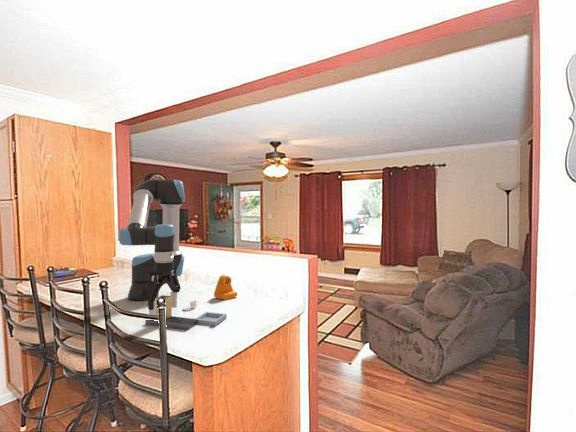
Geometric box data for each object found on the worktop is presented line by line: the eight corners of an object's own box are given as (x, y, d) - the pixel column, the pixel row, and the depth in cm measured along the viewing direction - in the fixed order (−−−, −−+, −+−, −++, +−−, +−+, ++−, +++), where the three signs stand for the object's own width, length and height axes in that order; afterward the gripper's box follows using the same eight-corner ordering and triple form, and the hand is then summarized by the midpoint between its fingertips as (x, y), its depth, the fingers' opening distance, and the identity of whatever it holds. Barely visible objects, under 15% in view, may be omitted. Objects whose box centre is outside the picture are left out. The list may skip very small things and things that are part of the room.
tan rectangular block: (155, 324, 125) (155, 297, 125) (162, 320, 129) (162, 295, 129) (164, 325, 124) (164, 298, 124) (171, 322, 128) (171, 295, 128)
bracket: (220, 301, 161) (220, 278, 161) (214, 297, 166) (214, 276, 166) (237, 297, 168) (238, 276, 168) (231, 294, 174) (231, 273, 173)
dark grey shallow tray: (145, 325, 125) (145, 319, 125) (156, 319, 131) (156, 314, 131) (188, 331, 120) (188, 324, 120) (197, 324, 126) (197, 318, 126)
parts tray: (194, 323, 127) (194, 319, 127) (206, 316, 137) (206, 311, 137) (215, 326, 125) (215, 321, 125) (226, 318, 134) (226, 314, 134)
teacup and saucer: (183, 313, 141) (183, 304, 141) (182, 308, 149) (182, 300, 149) (202, 311, 145) (202, 303, 145) (200, 306, 152) (200, 298, 152)
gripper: (151, 267, 113) (150, 323, 113) (189, 257, 137) (188, 304, 138) (134, 265, 115) (133, 321, 115) (174, 256, 139) (174, 302, 139)
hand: (163, 312), depth 126 cm, fingers open, 13 cm apart
